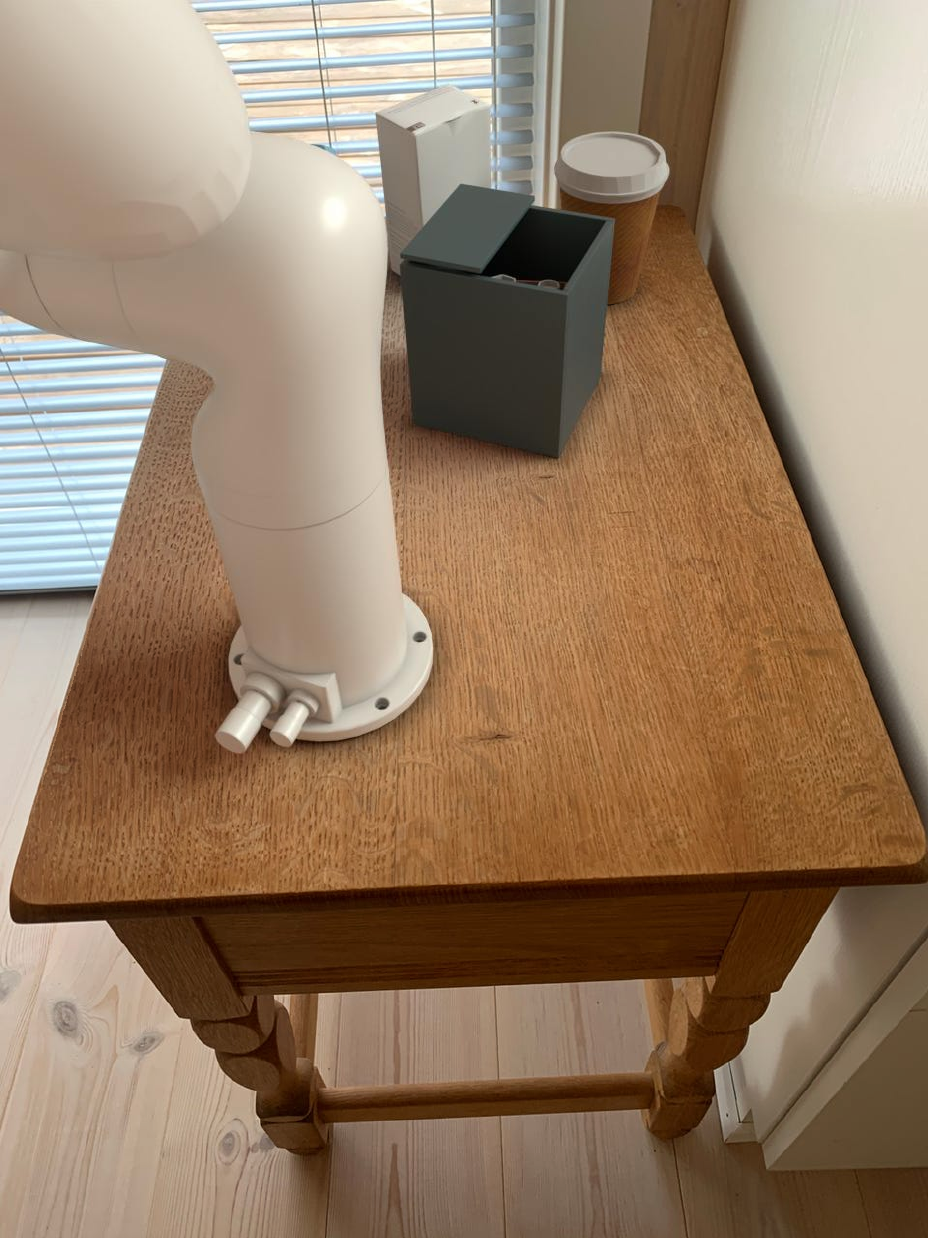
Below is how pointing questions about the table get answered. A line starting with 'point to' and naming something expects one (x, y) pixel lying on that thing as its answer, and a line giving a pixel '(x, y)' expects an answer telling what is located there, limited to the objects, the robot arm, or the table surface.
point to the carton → (512, 334)
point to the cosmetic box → (430, 157)
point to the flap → (468, 228)
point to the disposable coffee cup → (615, 195)
